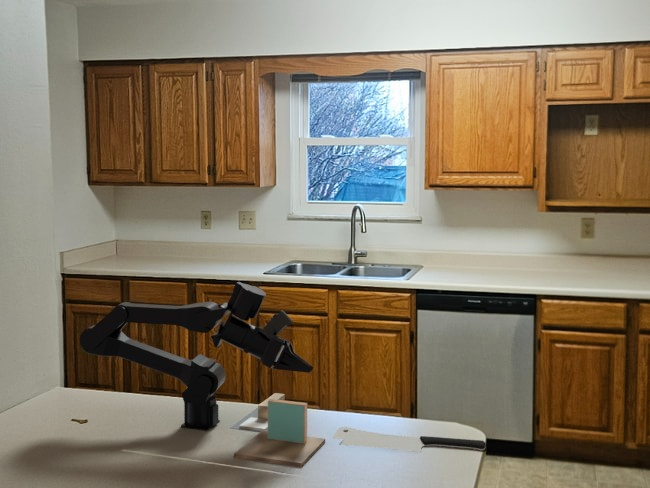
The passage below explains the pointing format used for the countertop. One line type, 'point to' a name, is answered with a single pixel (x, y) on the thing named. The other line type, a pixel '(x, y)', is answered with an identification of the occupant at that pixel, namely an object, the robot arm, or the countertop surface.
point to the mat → (252, 414)
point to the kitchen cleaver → (401, 441)
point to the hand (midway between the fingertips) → (311, 370)
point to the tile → (287, 421)
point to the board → (279, 450)
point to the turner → (261, 415)
